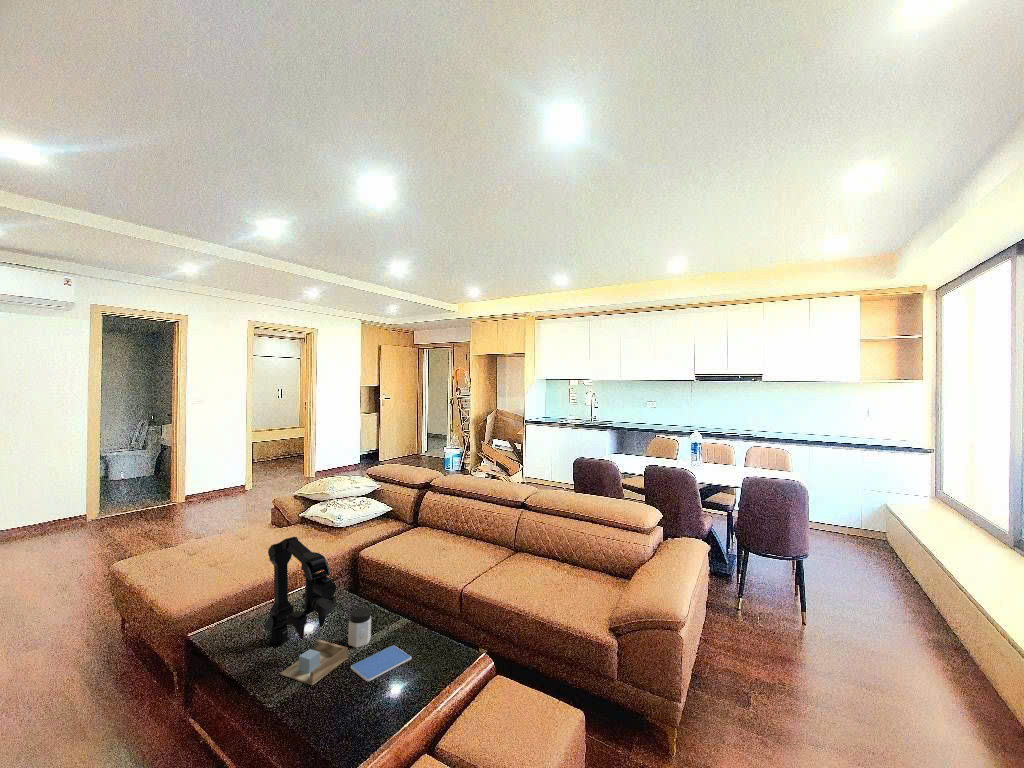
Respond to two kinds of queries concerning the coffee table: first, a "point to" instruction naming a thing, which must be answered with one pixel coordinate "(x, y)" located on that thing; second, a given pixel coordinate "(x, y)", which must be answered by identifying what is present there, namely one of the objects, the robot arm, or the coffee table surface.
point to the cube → (309, 661)
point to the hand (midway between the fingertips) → (311, 632)
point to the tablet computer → (380, 663)
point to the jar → (359, 627)
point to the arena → (328, 661)
